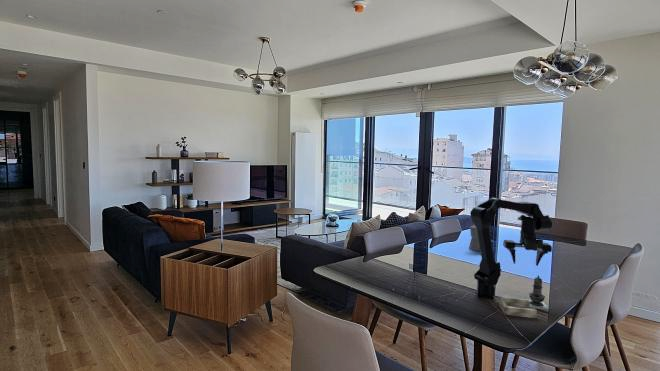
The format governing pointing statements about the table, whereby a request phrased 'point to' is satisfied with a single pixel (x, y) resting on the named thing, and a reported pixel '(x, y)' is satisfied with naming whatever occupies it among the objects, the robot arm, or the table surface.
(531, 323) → the table surface
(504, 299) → the beige bracket
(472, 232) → the coffeepot
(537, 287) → the dark grey chess piece
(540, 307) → the pad
